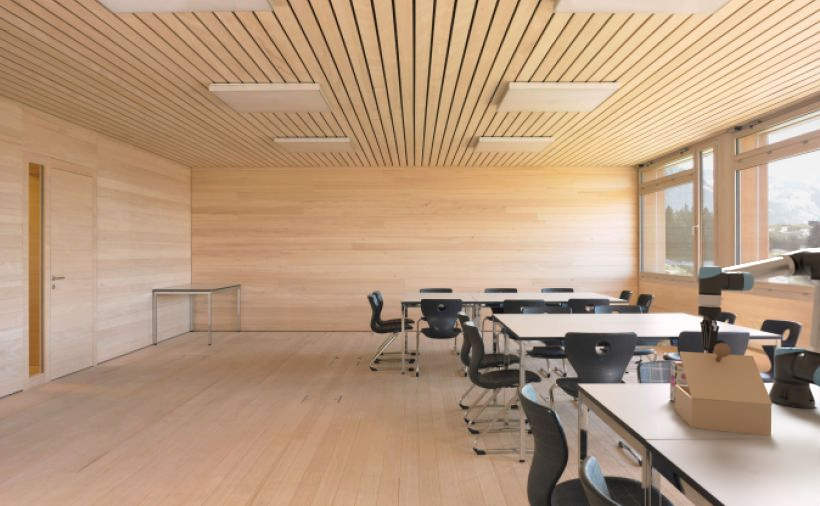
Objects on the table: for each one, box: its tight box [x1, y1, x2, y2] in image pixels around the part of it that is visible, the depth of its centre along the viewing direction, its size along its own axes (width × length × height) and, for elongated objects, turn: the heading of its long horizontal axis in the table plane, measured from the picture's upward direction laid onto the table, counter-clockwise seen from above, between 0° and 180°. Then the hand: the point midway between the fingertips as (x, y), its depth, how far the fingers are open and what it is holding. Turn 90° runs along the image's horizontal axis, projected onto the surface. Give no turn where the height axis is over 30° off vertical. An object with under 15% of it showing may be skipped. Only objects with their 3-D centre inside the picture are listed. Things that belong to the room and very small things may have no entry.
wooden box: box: [674, 385, 772, 436], centre depth 173 cm, size 24×20×10 cm
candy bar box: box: [669, 360, 688, 403], centre depth 197 cm, size 11×5×16 cm, turn 84°
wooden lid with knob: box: [679, 342, 773, 407], centre depth 168 cm, size 24×20×9 cm
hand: (708, 367), depth 184 cm, fingers closed
